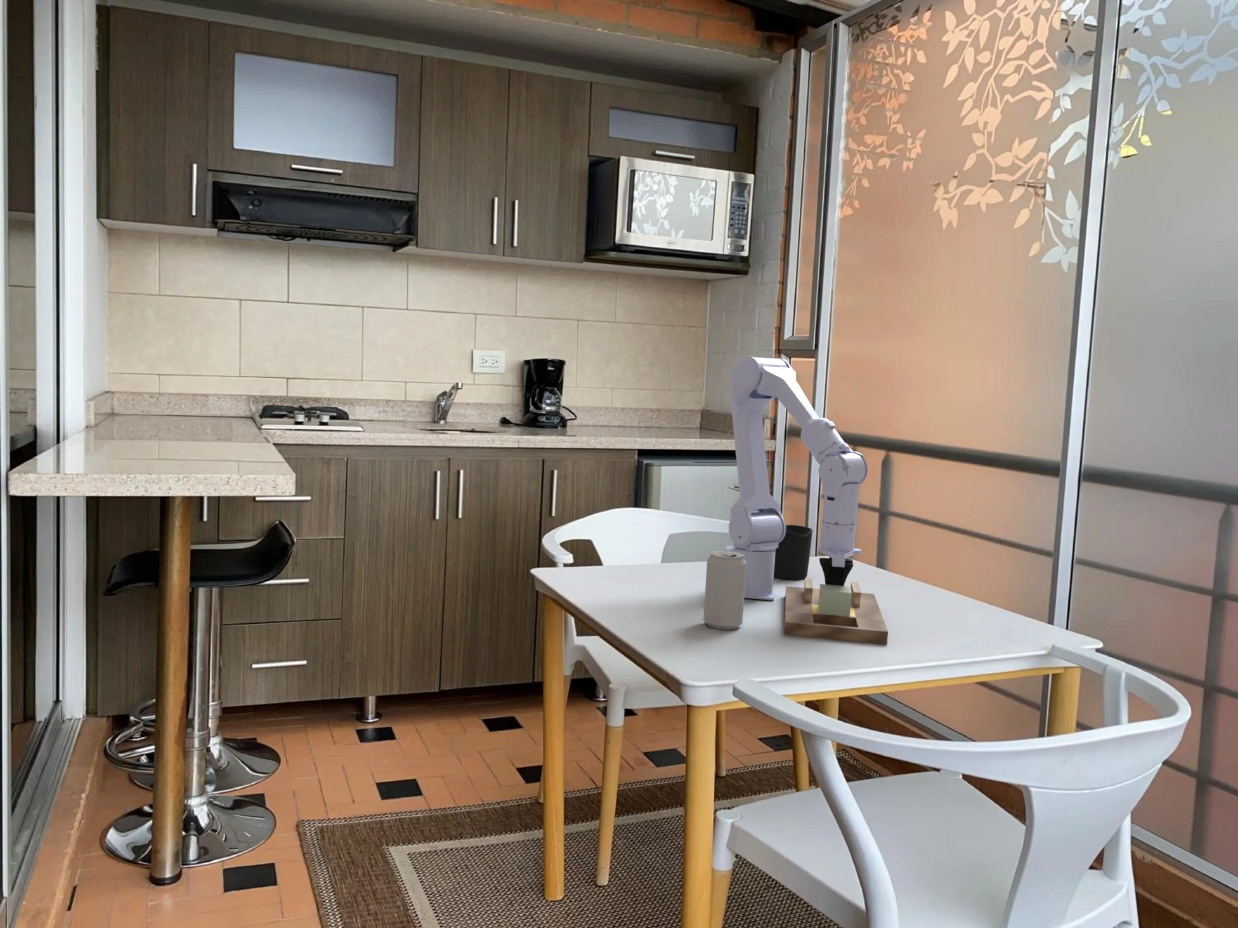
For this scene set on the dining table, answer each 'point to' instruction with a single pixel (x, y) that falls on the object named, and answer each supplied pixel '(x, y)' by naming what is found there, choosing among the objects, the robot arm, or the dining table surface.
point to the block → (834, 600)
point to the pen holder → (793, 553)
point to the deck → (833, 616)
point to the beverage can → (725, 589)
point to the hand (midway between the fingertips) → (833, 600)
